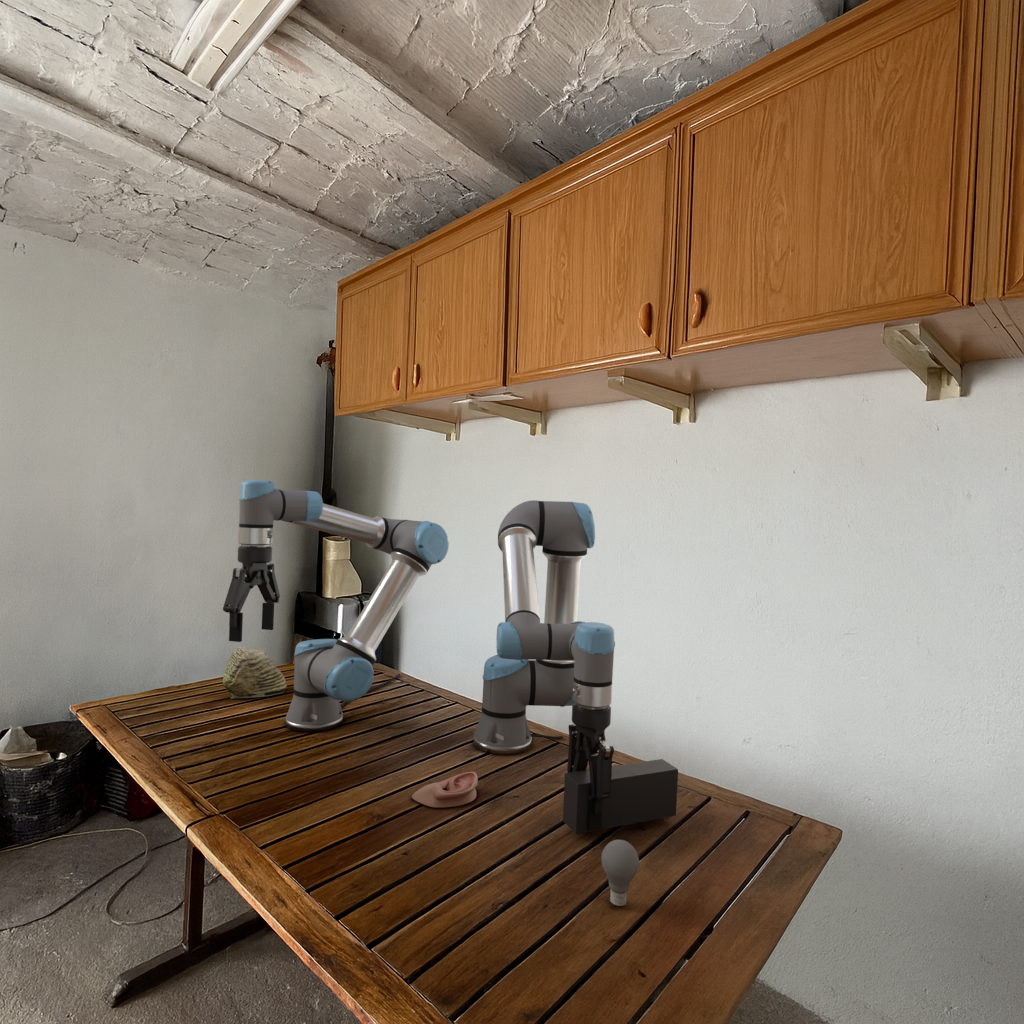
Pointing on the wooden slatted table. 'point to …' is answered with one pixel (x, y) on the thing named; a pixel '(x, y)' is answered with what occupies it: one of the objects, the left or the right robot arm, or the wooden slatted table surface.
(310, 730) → the left robot arm
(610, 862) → the light bulb
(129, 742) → the wooden slatted table surface
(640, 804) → the bar
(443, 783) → the anatomical model
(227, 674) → the fossil
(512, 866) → the wooden slatted table surface
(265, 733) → the wooden slatted table surface
